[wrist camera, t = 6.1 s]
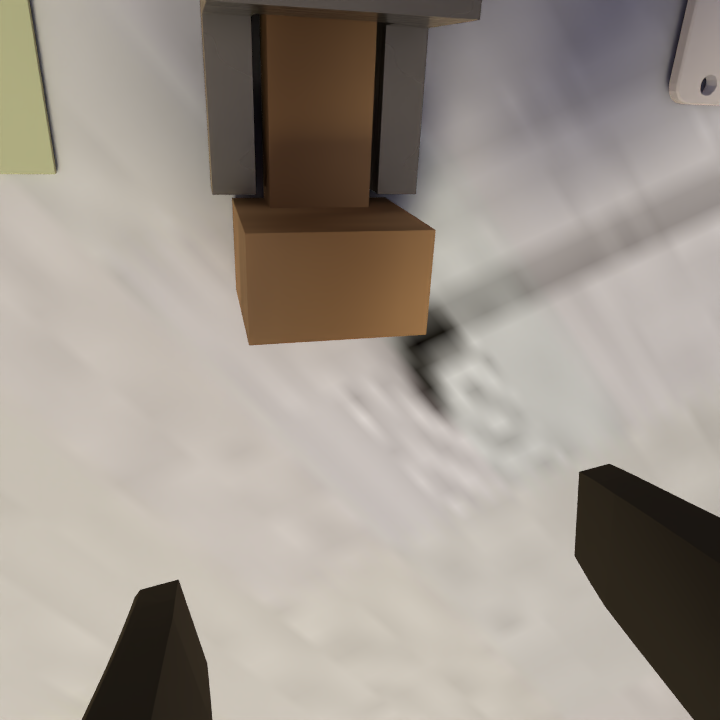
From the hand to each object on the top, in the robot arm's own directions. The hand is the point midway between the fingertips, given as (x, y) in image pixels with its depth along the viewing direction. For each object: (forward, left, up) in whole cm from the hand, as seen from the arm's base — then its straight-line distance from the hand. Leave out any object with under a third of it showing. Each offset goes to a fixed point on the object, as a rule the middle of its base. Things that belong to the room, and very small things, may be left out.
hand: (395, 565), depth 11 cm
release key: (0, -6, -8) cm, 11 cm away
